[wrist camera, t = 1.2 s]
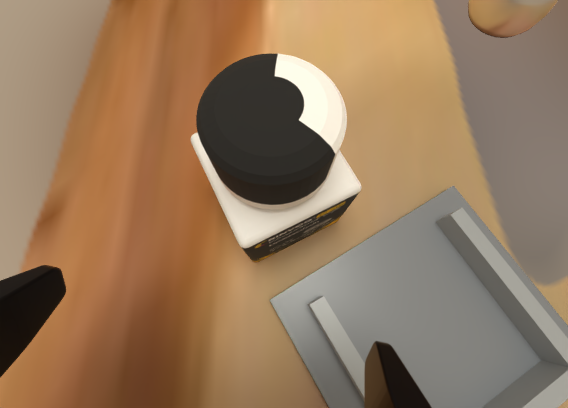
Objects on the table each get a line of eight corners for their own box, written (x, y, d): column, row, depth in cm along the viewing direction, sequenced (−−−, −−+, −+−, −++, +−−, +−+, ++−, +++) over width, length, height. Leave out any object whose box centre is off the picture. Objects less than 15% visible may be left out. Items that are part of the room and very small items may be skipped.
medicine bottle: (253, 264, 21) (221, 227, 10) (214, 181, 23) (148, 68, 12) (339, 221, 22) (402, 140, 11) (295, 145, 24) (309, 7, 13)
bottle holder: (585, 360, 19) (634, 371, 17) (392, 520, 17) (413, 562, 14) (447, 189, 23) (469, 175, 20) (269, 299, 20) (268, 300, 18)
